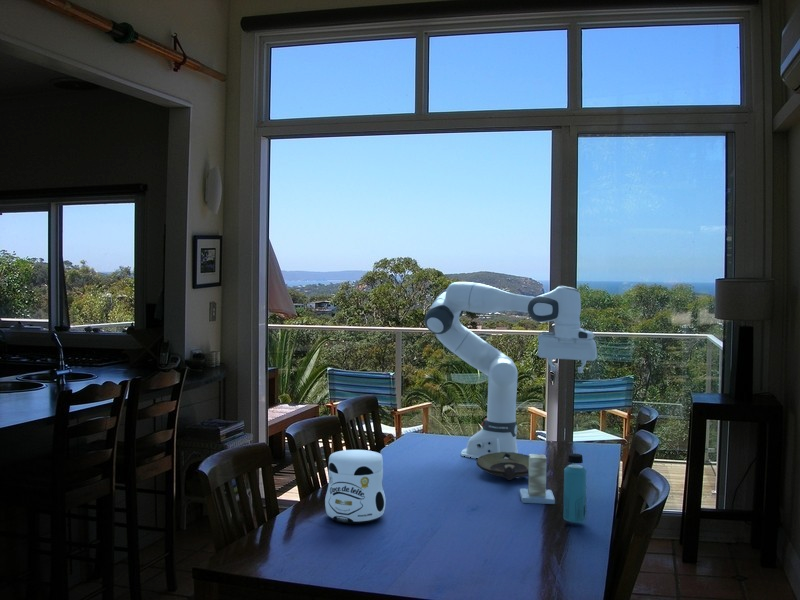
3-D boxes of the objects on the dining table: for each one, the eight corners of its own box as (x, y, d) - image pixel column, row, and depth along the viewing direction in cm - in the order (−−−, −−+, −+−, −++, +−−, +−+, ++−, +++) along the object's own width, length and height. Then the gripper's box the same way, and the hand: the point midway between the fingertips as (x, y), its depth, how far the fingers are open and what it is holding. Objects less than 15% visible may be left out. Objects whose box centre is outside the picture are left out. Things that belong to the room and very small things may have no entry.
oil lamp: (548, 471, 261) (549, 450, 261) (521, 492, 235) (522, 468, 235) (490, 462, 272) (491, 442, 272) (459, 481, 246) (459, 459, 245)
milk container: (330, 530, 196) (331, 465, 195) (320, 510, 213) (321, 450, 212) (392, 526, 201) (393, 461, 200) (377, 506, 217) (378, 447, 217)
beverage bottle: (586, 529, 201) (588, 457, 200) (562, 527, 202) (564, 456, 201) (585, 521, 207) (587, 452, 206) (561, 519, 208) (563, 450, 208)
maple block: (529, 495, 226) (530, 457, 225) (528, 491, 231) (529, 453, 230) (545, 496, 225) (546, 458, 225) (544, 491, 230) (544, 454, 230)
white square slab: (522, 502, 223) (522, 497, 223) (519, 493, 233) (519, 488, 233) (554, 504, 222) (554, 499, 222) (551, 494, 232) (551, 489, 232)
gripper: (535, 331, 253) (535, 371, 253) (595, 334, 245) (594, 375, 245) (539, 330, 259) (539, 369, 259) (598, 333, 251) (597, 372, 251)
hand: (566, 372), depth 252 cm, fingers open, 8 cm apart
